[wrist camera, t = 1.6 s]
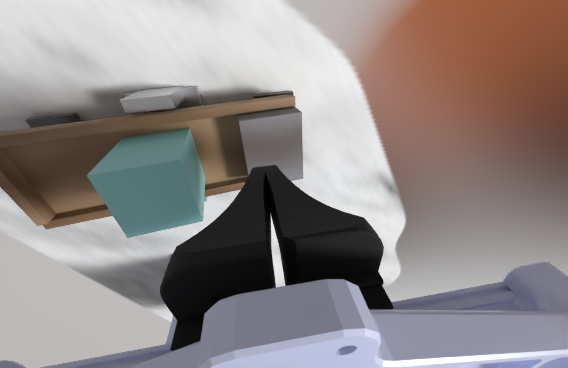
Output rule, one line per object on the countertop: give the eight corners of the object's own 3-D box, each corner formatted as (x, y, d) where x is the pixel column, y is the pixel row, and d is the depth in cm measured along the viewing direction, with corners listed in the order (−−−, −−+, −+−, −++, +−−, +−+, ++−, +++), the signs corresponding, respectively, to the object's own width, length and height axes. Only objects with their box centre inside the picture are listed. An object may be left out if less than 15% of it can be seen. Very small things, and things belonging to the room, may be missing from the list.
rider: (205, 178, 17) (202, 221, 13) (149, 188, 16) (127, 237, 12) (189, 127, 15) (180, 159, 11) (123, 136, 14) (86, 175, 10)
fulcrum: (295, 169, 21) (302, 187, 19) (86, 196, 20) (62, 220, 17) (291, 75, 17) (299, 81, 14) (20, 101, 15) (-29, 114, 13)
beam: (289, 163, 20) (303, 185, 17) (67, 206, 17) (33, 243, 14) (284, 89, 17) (301, 100, 14) (3, 125, 14) (-61, 150, 10)
